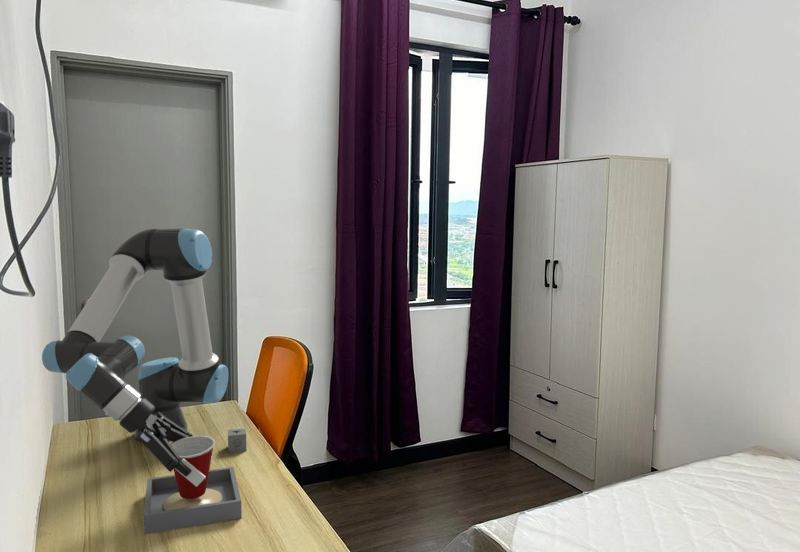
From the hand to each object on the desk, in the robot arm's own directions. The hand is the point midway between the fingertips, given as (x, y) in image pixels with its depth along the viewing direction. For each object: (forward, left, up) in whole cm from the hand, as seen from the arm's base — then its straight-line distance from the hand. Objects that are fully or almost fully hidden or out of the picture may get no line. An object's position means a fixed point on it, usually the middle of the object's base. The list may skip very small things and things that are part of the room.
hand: (204, 471), depth 141 cm
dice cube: (-34, +10, -8) cm, 36 cm away
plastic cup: (-1, -3, -6) cm, 6 cm away
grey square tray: (0, -3, -8) cm, 9 cm away
